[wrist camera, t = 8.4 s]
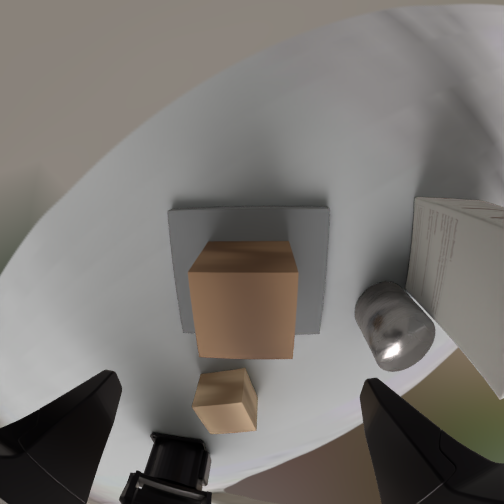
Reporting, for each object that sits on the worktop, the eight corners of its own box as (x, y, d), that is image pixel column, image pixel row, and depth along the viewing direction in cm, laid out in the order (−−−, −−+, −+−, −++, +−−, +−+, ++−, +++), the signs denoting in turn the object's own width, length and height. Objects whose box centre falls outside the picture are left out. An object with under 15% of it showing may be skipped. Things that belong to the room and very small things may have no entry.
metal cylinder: (350, 333, 20) (368, 375, 15) (359, 282, 18) (384, 319, 14) (398, 328, 20) (423, 366, 15) (410, 280, 18) (443, 312, 14)
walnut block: (213, 311, 19) (199, 356, 14) (208, 241, 17) (187, 272, 12) (286, 311, 18) (292, 358, 14) (289, 241, 17) (298, 272, 12)
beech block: (216, 401, 23) (210, 434, 19) (200, 373, 22) (191, 406, 18) (257, 396, 23) (256, 430, 19) (245, 367, 21) (241, 402, 18)
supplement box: (467, 282, 18) (559, 363, 6) (402, 289, 19) (496, 406, 7) (480, 198, 16) (600, 245, 4) (412, 192, 16) (562, 248, 4)
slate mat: (185, 326, 20) (183, 332, 19) (171, 208, 17) (167, 211, 17) (317, 327, 20) (319, 333, 19) (327, 206, 17) (329, 208, 16)
